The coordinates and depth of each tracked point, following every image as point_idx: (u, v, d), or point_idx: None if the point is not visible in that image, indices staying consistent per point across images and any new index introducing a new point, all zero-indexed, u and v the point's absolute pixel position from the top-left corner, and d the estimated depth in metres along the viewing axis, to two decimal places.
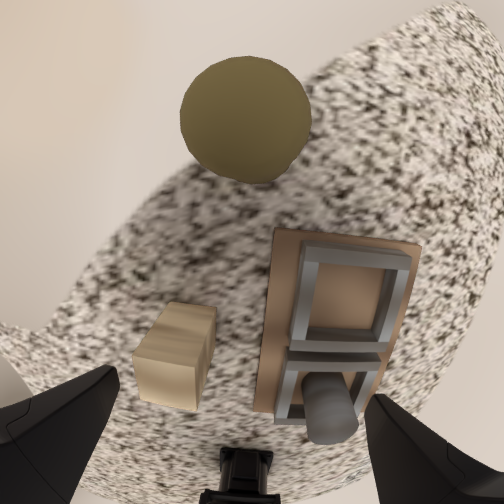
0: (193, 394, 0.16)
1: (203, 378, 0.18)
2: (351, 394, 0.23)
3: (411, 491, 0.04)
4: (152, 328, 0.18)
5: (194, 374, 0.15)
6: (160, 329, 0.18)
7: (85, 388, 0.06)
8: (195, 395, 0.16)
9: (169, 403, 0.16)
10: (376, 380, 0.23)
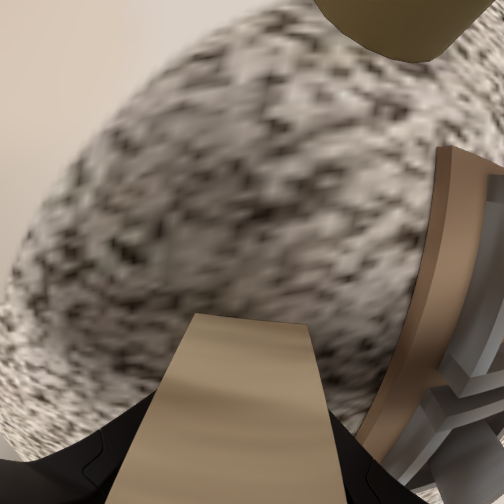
0: None
1: None
2: None
3: None
4: (157, 401, 0.05)
5: None
6: (183, 404, 0.05)
7: None
8: None
9: None
10: None
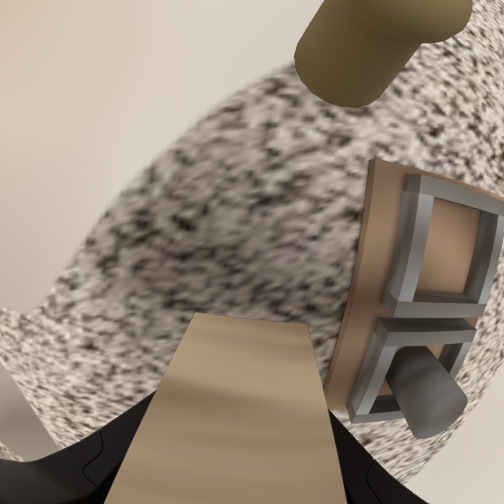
0: None
1: None
2: None
3: None
4: (157, 399, 0.05)
5: None
6: (183, 403, 0.05)
7: None
8: None
9: None
10: None
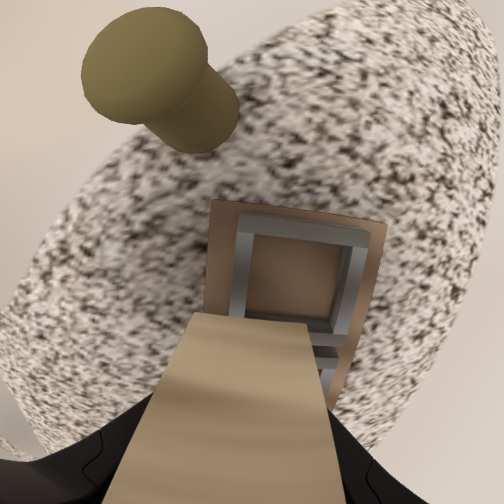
0: None
1: None
2: None
3: None
4: (156, 399, 0.05)
5: None
6: (182, 403, 0.05)
7: None
8: None
9: None
10: (339, 382, 0.21)
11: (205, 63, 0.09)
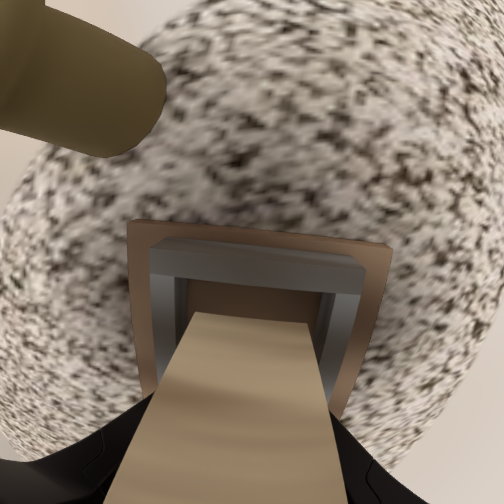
0: None
1: None
2: None
3: None
4: (157, 399, 0.05)
5: None
6: (183, 403, 0.05)
7: None
8: None
9: None
10: None
11: (18, 18, 0.02)
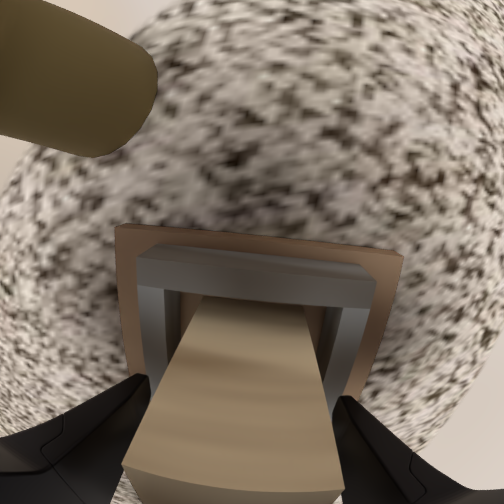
0: None
1: None
2: None
3: (370, 500, 0.04)
4: (174, 363, 0.07)
5: (332, 499, 0.04)
6: (196, 366, 0.07)
7: (121, 400, 0.06)
8: None
9: None
10: None
11: None
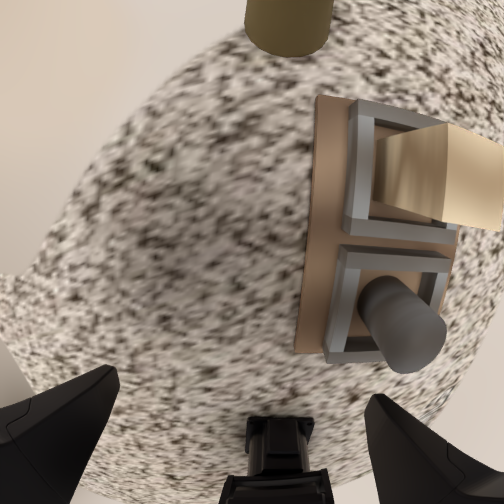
0: (502, 195, 0.08)
1: None
2: None
3: (410, 491, 0.04)
4: None
5: None
6: None
7: (85, 388, 0.06)
8: (502, 198, 0.09)
9: (477, 220, 0.09)
10: None
11: None
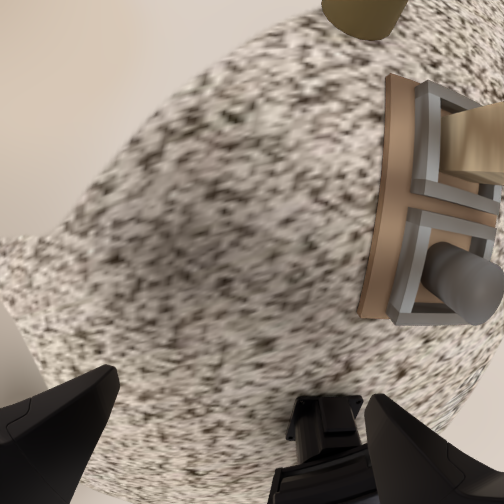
0: None
1: None
2: None
3: (411, 491, 0.04)
4: (474, 109, 0.11)
5: None
6: None
7: (85, 388, 0.06)
8: None
9: None
10: None
11: None
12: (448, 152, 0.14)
